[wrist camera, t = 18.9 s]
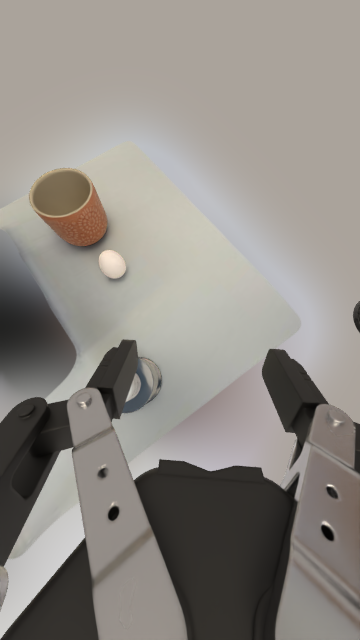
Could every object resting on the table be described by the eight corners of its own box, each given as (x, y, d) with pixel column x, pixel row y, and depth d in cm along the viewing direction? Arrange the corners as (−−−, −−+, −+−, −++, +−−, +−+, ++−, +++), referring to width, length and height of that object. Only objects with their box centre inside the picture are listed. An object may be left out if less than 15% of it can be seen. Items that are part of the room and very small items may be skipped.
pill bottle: (131, 364, 30) (114, 362, 22) (146, 387, 29) (134, 394, 21) (107, 381, 29) (81, 385, 22) (122, 406, 28) (100, 419, 21)
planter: (97, 203, 49) (74, 158, 39) (122, 235, 46) (104, 196, 36) (54, 227, 47) (17, 186, 37) (77, 262, 45) (45, 229, 34)
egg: (115, 259, 45) (103, 238, 38) (133, 269, 44) (124, 250, 37) (102, 276, 44) (86, 258, 37) (120, 287, 43) (108, 270, 36)
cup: (169, 371, 38) (166, 371, 29) (146, 413, 36) (135, 427, 27) (132, 349, 39) (118, 344, 31) (107, 390, 37) (85, 396, 29)
